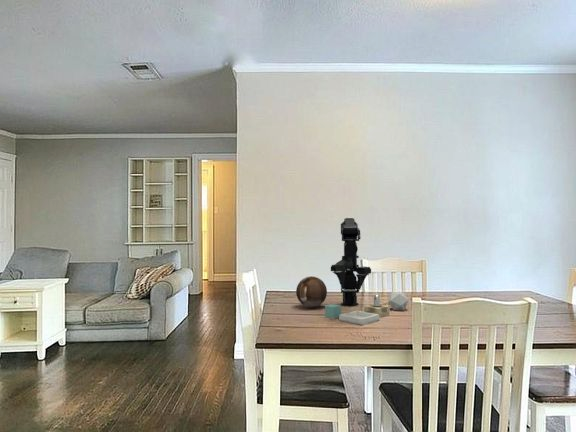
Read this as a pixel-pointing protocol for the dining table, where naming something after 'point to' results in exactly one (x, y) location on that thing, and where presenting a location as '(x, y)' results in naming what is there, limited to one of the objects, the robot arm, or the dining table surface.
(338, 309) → the block
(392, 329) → the dining table surface
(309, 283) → the wooden sphere
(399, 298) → the die
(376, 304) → the rod
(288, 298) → the dining table surface
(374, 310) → the hollow square frame
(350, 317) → the tray
